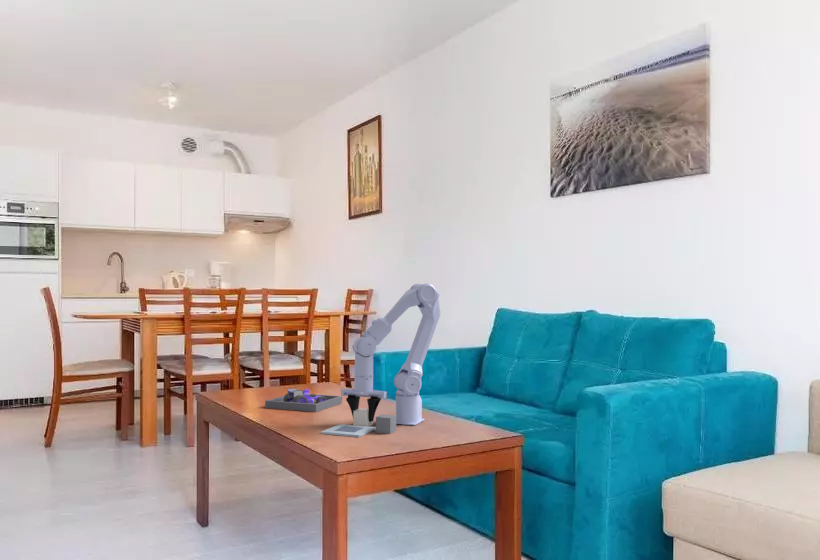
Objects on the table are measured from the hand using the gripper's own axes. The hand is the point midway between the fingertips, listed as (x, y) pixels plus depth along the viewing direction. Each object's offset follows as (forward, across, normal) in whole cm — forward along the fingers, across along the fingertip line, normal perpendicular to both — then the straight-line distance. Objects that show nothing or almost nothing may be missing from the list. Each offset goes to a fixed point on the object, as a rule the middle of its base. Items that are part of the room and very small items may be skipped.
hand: (363, 420), depth 201 cm
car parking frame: (+1, -34, +24) cm, 42 cm away
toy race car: (+2, -33, +25) cm, 41 cm away
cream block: (+1, 0, 0) cm, 1 cm away
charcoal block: (+2, +10, -6) cm, 12 cm away
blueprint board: (+1, 0, -10) cm, 10 cm away
